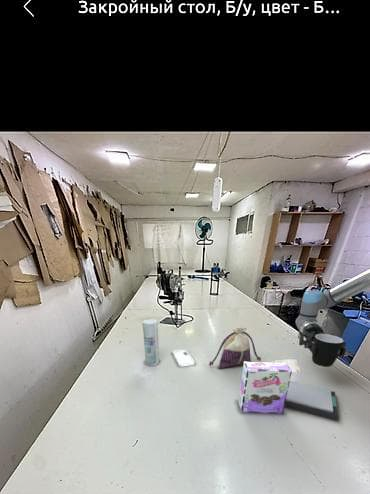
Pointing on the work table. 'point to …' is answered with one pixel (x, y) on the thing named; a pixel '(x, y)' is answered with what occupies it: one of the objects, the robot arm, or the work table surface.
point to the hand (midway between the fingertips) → (329, 351)
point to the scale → (312, 400)
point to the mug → (326, 349)
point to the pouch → (235, 349)
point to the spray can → (151, 341)
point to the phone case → (183, 358)
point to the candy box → (264, 387)
